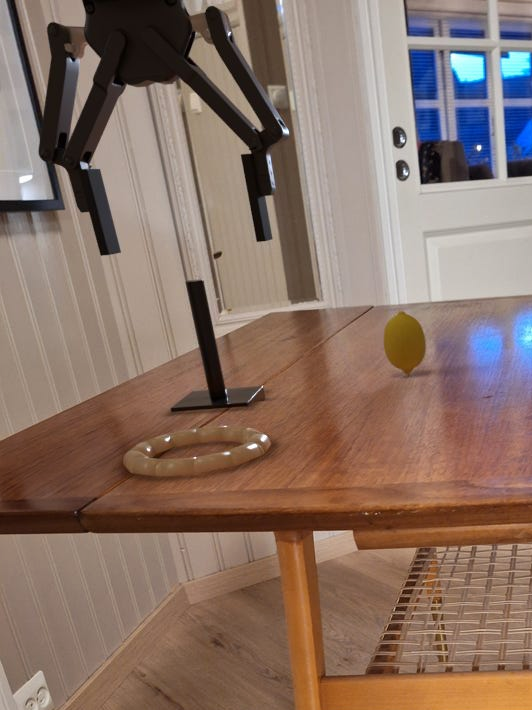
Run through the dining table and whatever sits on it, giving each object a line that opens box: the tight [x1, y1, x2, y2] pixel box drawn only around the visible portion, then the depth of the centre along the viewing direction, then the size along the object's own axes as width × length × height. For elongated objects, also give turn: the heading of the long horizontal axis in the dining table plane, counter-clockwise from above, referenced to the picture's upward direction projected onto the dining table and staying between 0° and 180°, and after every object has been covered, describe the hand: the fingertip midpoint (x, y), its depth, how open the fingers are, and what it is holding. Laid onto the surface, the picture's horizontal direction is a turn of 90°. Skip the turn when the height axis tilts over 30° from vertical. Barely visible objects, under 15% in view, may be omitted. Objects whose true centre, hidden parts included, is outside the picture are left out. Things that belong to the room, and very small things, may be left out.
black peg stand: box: [170, 278, 266, 413], centre depth 101 cm, size 9×9×14 cm
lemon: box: [383, 310, 427, 375], centre depth 114 cm, size 6×6×8 cm
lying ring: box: [122, 425, 272, 477], centre depth 83 cm, size 13×13×2 cm
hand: (187, 248), depth 75 cm, fingers open, 13 cm apart
